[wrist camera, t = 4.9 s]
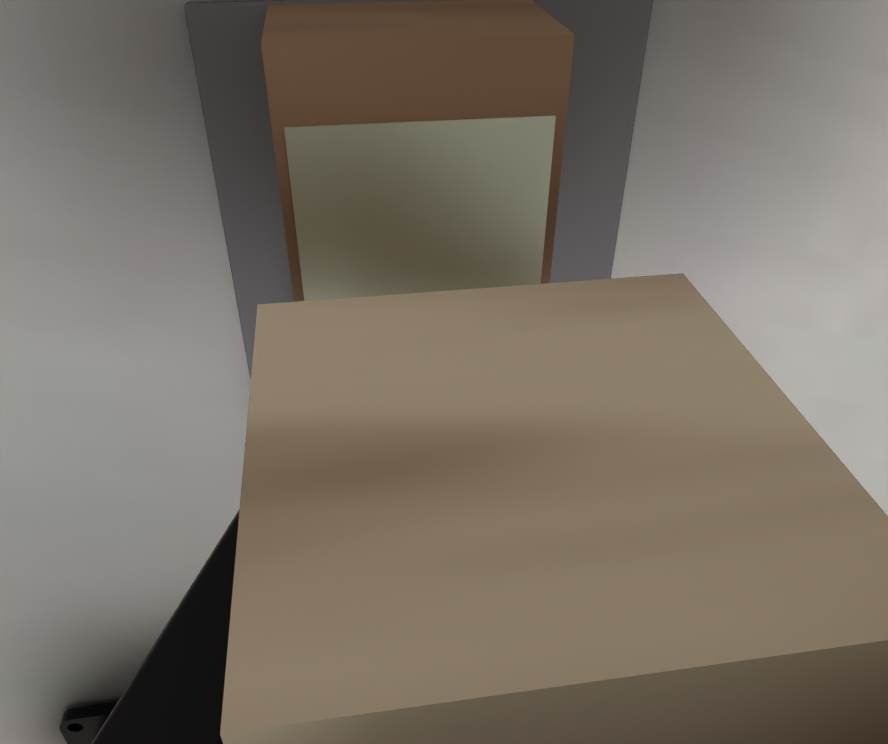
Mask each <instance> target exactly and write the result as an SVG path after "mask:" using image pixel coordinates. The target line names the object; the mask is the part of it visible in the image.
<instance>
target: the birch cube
mask: <svg viewBox="0 0 888 744" xmlns="http://www.w3.org/2000/svg"><path fill="white" fill-rule="evenodd" d="M220 735H221V739H222V742H223V744H888V516H887V515H886V514H885V513H884V511H883V510H882V509H881V508H880V507H879V505H878V504H877V503H876V502H875V501H874V499H873V498H872V497H871V496H870V495H869V494H868V492H867V491H866V490H865V489H864V488H863V486H862V485H861V484H860V483H859V482H858V481H857V479H856V478H855V477H854V476H853V475H852V473H851V472H850V471H849V470H848V469H847V467H846V466H845V465H844V464H843V463H842V462H841V460H840V459H839V458H838V457H837V456H836V454H835V453H834V452H833V451H832V450H831V448H830V447H829V446H828V445H827V444H826V443H825V441H824V440H823V439H822V438H821V437H820V435H819V434H818V433H817V432H816V431H815V430H814V428H813V427H812V426H811V425H810V424H809V422H808V421H807V420H806V419H805V418H804V416H803V415H802V414H801V413H800V412H799V411H798V409H797V408H796V407H795V406H794V405H793V403H792V402H791V401H790V400H789V399H788V398H787V396H786V395H785V394H784V393H783V392H782V390H781V389H780V388H779V387H778V386H777V384H776V383H775V382H774V381H773V380H772V379H771V377H770V376H769V375H768V374H767V373H766V371H765V370H764V369H763V368H762V367H761V366H760V364H759V363H758V362H757V361H756V360H755V358H754V357H753V356H752V355H751V354H750V352H749V351H748V350H747V349H746V348H745V347H744V345H743V344H742V343H741V342H740V341H739V339H738V338H737V337H736V336H735V335H734V333H733V332H732V331H731V330H730V329H729V328H728V326H727V325H726V324H725V323H724V322H723V320H722V319H721V318H720V317H719V316H718V315H717V313H716V312H715V311H714V310H713V309H712V307H711V306H710V305H709V304H708V303H707V301H706V300H705V299H704V298H703V297H702V296H701V294H700V293H699V292H698V291H697V290H696V288H695V287H694V286H693V285H692V284H691V283H690V281H689V280H688V279H687V278H686V277H685V275H684V274H670V275H656V276H642V277H628V278H615V279H601V280H587V281H574V282H560V283H546V284H532V285H519V286H505V287H491V288H478V289H464V290H450V291H436V292H423V293H409V294H395V295H381V296H368V297H354V298H340V299H327V300H313V301H299V302H285V303H272V304H258V305H257V316H256V328H255V339H254V351H253V362H252V373H251V385H250V396H249V408H248V419H247V431H246V442H245V454H244V465H243V477H242V488H241V500H240V511H239V523H238V534H237V546H236V557H235V569H234V580H233V592H232V603H231V614H230V626H229V637H228V649H227V660H226V672H225V683H224V695H223V706H222V718H221V729H220Z"/></svg>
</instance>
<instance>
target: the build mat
mask: <svg viewBox="0 0 888 744" xmlns="http://www.w3.org/2000/svg"><path fill="white" fill-rule="evenodd" d="M420 1H463V0H284V1H240V2H196V3H186V5H185V7H184V8H185V13H186V19H187V25H188V30H189V36H190V42H191V47H192V53H193V58H194V64H195V70H196V75H197V81H198V87H199V92H200V98H201V103H202V109H203V115H204V120H205V126H206V131H207V137H208V143H209V148H210V154H211V160H212V165H213V171H214V176H215V182H216V188H217V193H218V199H219V204H220V210H221V216H222V221H223V227H224V233H225V238H226V244H227V249H228V255H229V261H230V266H231V272H232V278H233V283H234V289H235V294H236V300H237V306H238V311H239V317H240V322H241V328H242V334H243V339H244V345H245V351H246V356H247V362H248V367H249V373H250V379H251V373H252V362H253V351H254V339H255V328H256V316H257V305H258V304H272V303H285V302H294V299H293V291H292V284H291V276H290V268H289V260H288V252H287V244H286V236H285V229H284V221H283V213H282V205H281V197H280V189H279V181H278V174H277V166H276V158H275V150H274V142H273V134H272V126H271V119H270V111H269V103H268V95H267V87H266V79H265V71H264V63H263V56H262V48H261V41H262V35H263V29H264V23H265V18H266V12H267V6H268V5H291V4H334V3H377V2H420ZM532 1H534V2H535V3H536V4H537V5H539V6H540V7H541V8H542V9H544V10H545V11H546V12H547V13H549V14H550V15H551V16H552V17H554V18H555V19H556V20H557V21H559V22H560V23H561V24H562V25H564V26H565V27H566V28H567V29H569V30H570V31H571V32H572V33H574V34H575V36H574V46H573V56H572V66H571V76H570V86H569V96H568V106H567V116H566V126H565V137H564V147H563V157H562V167H561V177H560V187H559V197H558V207H557V217H556V227H555V237H554V247H553V257H552V267H551V277H550V283H560V282H574V281H587V280H601V279H611V272H612V266H613V259H614V252H615V246H616V239H617V233H618V226H619V220H620V213H621V206H622V200H623V193H624V187H625V180H626V173H627V167H628V160H629V154H630V147H631V141H632V134H633V127H634V121H635V114H636V108H637V101H638V95H639V88H640V81H641V75H642V68H643V62H644V55H645V49H646V42H647V35H648V29H649V22H650V16H651V9H652V3H653V0H532Z"/></svg>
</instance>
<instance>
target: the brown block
mask: <svg viewBox="0 0 888 744" xmlns="http://www.w3.org/2000/svg"><path fill="white" fill-rule="evenodd" d="M574 36H575V34H574V33H572V32H571V31H570V30H569V29H567V28H566V27H565V26H564V25H562V24H561V23H560V22H559V21H557V20H556V19H555V18H554V17H552V16H551V15H550V14H549V13H547V12H546V11H545V10H544V9H542V8H541V7H540V6H539V5H537V4H536V3H535V2H534V1H532V0H463V1H420V2H377V3H334V4H291V5H268V6H267V12H266V18H265V23H264V29H263V35H262V41H261V48H262V56H263V63H264V71H265V79H266V87H267V95H268V103H269V111H270V119H271V126H272V134H273V142H274V150H275V158H276V166H277V174H278V181H279V189H280V197H281V205H282V213H283V221H284V229H285V236H286V244H287V252H288V260H289V268H290V276H291V284H292V291H293V299H294V302H299V301H313V300H327V299H340V298H354V297H368V296H381V295H395V294H409V293H423V292H436V291H450V290H464V289H478V288H491V287H505V286H519V285H532V284H546V283H550V277H551V267H552V257H553V247H554V237H555V227H556V217H557V207H558V197H559V187H560V177H561V167H562V157H563V147H564V137H565V126H566V116H567V106H568V96H569V86H570V76H571V66H572V56H573V46H574Z"/></svg>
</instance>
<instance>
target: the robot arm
mask: <svg viewBox="0 0 888 744" xmlns="http://www.w3.org/2000/svg"><path fill="white" fill-rule="evenodd" d="M239 511H240V509H239ZM239 511H238V512H237V514H236V516H235V517H234V519H233V520H232V522H231V524H230V525H229V527H228V528H227V530H226V531H225V533H224V535H223V536H222V538H221V539H220V541H219V543H218V544H217V546H216V547H215V549H214V550H213V552H212V554H211V555H210V557H209V558H208V560H207V562H206V563H205V565H204V566H203V568H202V569H201V571H200V573H199V574H198V576H197V577H196V579H195V581H194V582H193V584H192V585H191V587H190V588H189V590H188V592H187V593H186V595H185V596H184V598H183V600H182V601H181V603H180V604H179V606H178V607H177V609H176V611H175V612H174V614H173V615H172V617H171V618H170V620H169V622H168V623H167V625H166V626H165V628H164V630H163V631H162V633H161V634H160V636H159V637H158V639H157V641H156V642H155V644H154V645H153V647H152V649H151V650H150V652H149V653H148V655H147V656H146V658H145V660H144V661H143V663H142V664H141V666H140V668H139V669H138V671H137V672H136V674H135V675H134V677H133V679H132V680H131V682H130V683H129V685H128V687H127V688H126V690H125V691H124V693H123V694H122V696H121V698H120V699H119V701H118V702H117V703H112V704H104V705H97V706H89V707H82V708H74V709H70V710H67V711H66V712H64V714H63V715H62V719H61V723H60V726H59V727H60V731H61V733H62V734H63V736H64V738H65V740H66V742H67V744H223V742H222V739H221V735H220V729H221V718H222V706H223V695H224V683H225V672H226V660H227V649H228V637H229V626H230V614H231V603H232V592H233V580H234V569H235V557H236V546H237V534H238V523H239Z"/></svg>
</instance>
